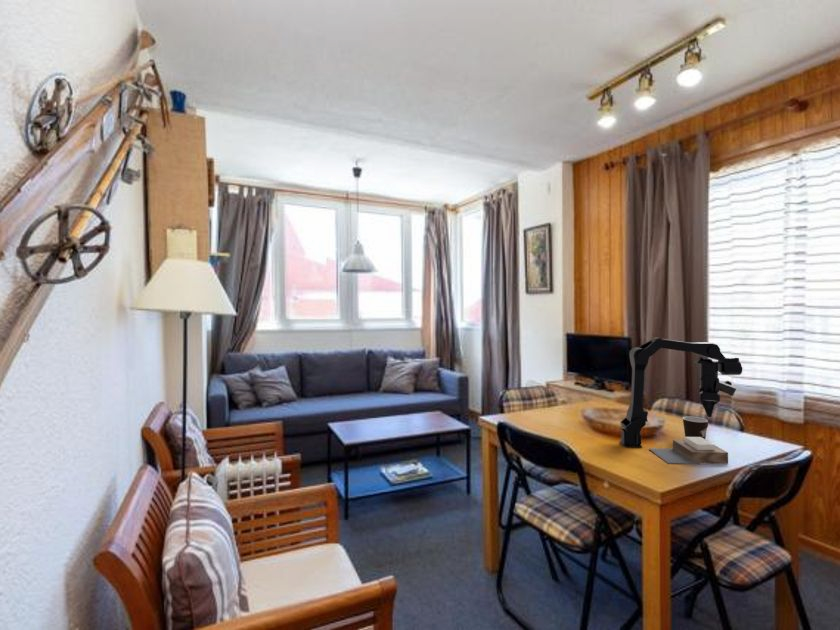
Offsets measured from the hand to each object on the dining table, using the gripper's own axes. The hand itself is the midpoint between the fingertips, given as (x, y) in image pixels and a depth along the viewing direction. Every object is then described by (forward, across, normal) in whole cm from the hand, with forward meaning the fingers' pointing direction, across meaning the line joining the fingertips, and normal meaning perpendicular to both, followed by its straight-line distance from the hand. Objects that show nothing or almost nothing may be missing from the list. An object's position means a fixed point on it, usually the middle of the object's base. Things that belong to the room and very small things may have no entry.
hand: (709, 414), depth 165 cm
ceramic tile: (+10, -11, +3) cm, 15 cm away
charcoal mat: (+14, -16, +12) cm, 24 cm away
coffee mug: (+14, +6, +3) cm, 15 cm away
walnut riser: (+14, -11, +3) cm, 18 cm away
